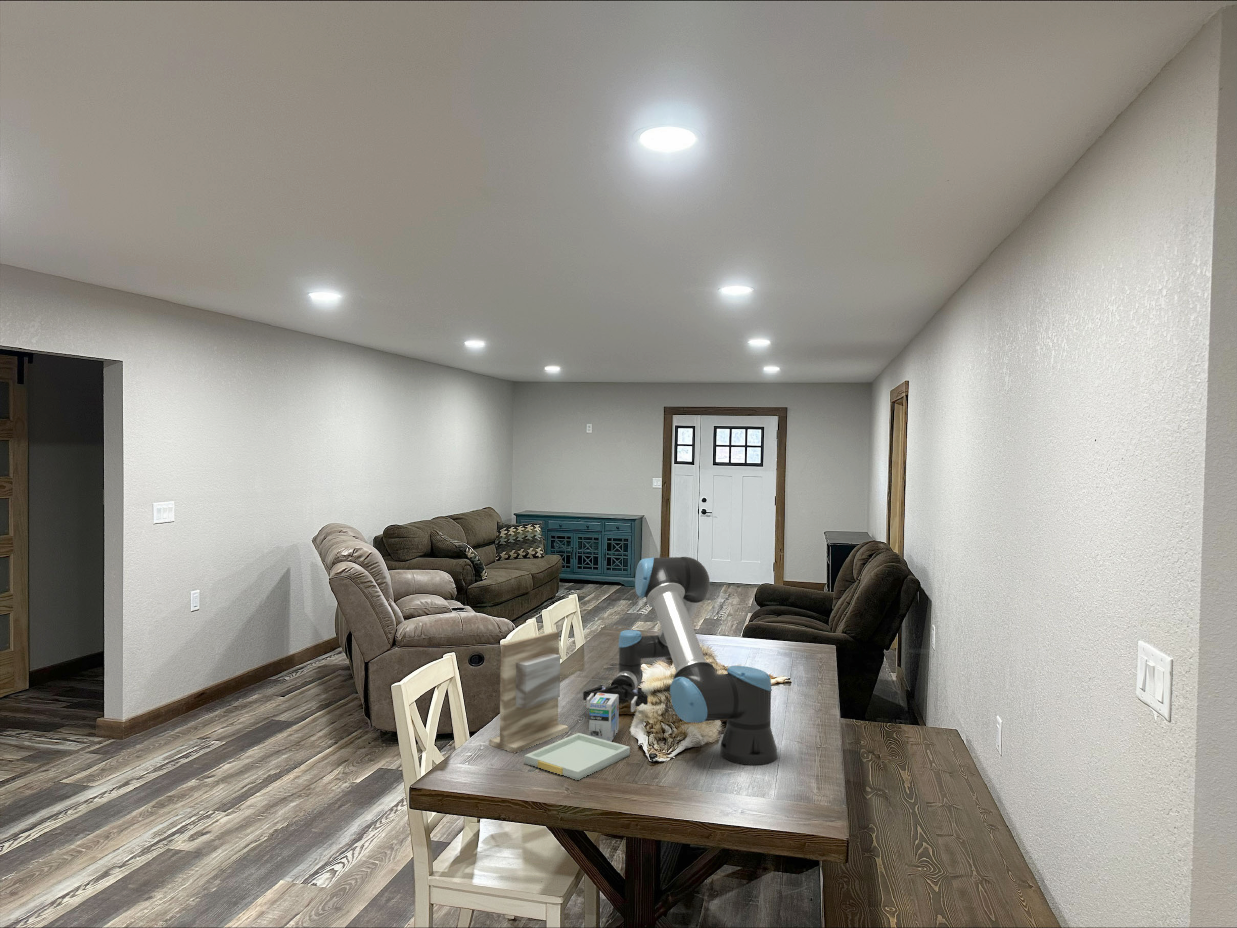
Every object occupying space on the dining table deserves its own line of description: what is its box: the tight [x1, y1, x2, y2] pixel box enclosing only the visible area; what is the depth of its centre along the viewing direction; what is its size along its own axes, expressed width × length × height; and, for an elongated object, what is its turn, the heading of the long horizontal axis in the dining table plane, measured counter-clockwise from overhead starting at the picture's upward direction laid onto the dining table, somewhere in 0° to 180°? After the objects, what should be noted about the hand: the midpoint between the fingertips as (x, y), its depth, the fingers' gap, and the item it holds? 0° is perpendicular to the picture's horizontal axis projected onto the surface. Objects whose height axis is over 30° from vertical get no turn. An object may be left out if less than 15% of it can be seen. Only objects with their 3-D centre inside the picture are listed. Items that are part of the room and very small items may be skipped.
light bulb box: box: [588, 693, 620, 742], centre depth 232 cm, size 11×7×11 cm, turn 168°
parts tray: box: [523, 732, 631, 781], centre depth 213 cm, size 18×22×2 cm
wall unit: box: [488, 630, 569, 754], centre depth 229 cm, size 10×22×28 cm, turn 143°
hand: (609, 705), depth 240 cm, fingers open, 13 cm apart
